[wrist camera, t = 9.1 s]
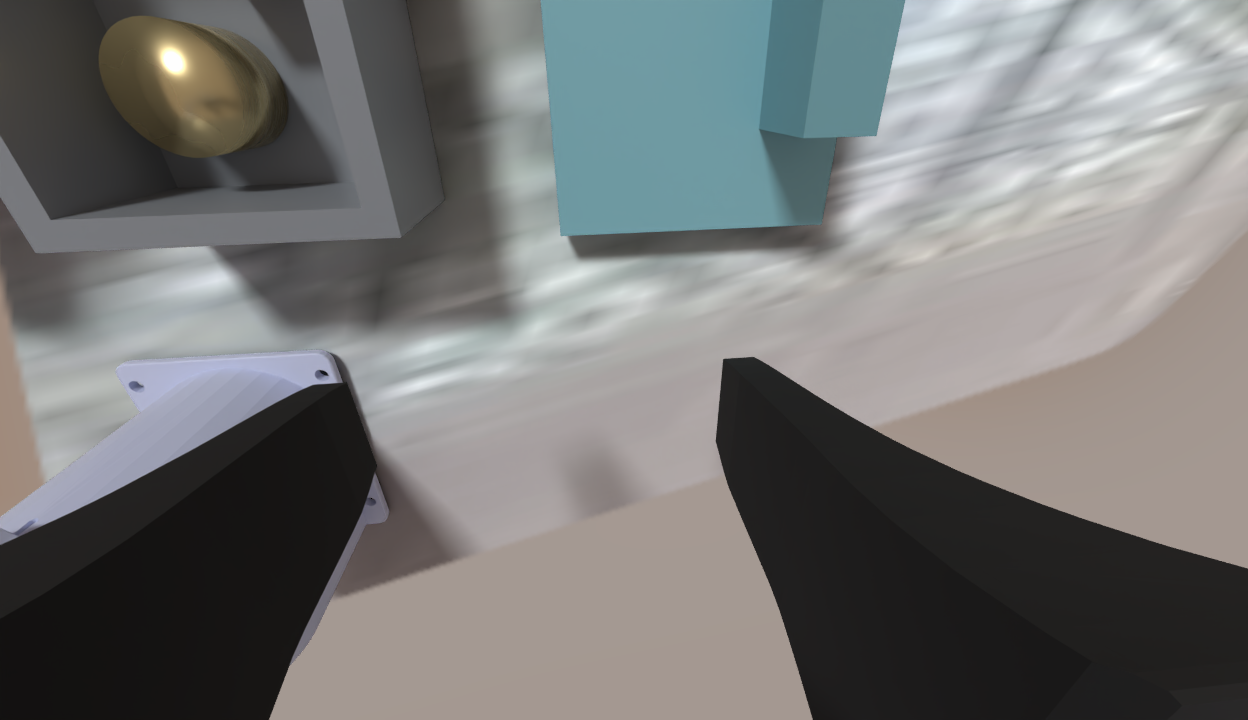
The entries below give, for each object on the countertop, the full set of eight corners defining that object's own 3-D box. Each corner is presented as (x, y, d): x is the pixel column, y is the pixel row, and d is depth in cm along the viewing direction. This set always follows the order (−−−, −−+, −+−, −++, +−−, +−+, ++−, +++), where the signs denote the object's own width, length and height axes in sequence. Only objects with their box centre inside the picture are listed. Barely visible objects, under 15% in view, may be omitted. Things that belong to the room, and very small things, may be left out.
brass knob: (303, 146, 15) (261, 155, 13) (198, 150, 15) (138, 159, 13) (265, 25, 14) (211, 14, 12) (147, 27, 14) (70, 16, 12)
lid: (803, 214, 19) (873, 252, 14) (561, 224, 18) (557, 268, 14) (869, -208, 13) (1016, -355, 9) (525, -214, 13) (499, -377, 8)
